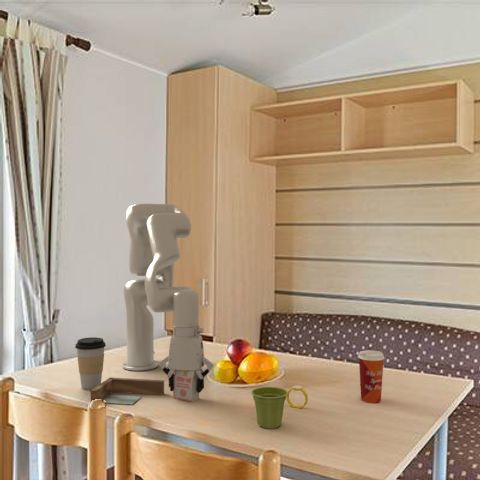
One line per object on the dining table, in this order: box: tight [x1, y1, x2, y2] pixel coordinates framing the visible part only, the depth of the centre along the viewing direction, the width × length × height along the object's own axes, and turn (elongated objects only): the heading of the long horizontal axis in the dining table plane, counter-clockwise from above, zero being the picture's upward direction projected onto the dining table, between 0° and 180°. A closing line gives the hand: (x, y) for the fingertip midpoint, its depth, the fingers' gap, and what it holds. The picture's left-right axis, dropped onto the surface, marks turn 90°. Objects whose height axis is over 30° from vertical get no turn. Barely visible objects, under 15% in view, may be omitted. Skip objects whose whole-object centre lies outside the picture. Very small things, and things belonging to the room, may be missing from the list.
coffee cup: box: [74, 336, 106, 391], centre depth 179 cm, size 9×9×15 cm
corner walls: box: [90, 377, 165, 406], centre depth 167 cm, size 14×18×4 cm
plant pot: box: [251, 386, 288, 430], centre depth 146 cm, size 9×9×9 cm
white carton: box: [172, 370, 200, 403], centre depth 167 cm, size 4×7×10 cm, turn 59°
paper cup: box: [357, 349, 385, 404], centre depth 165 cm, size 8×8×14 cm
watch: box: [285, 384, 309, 410], centre depth 159 cm, size 6×3×6 cm, turn 66°
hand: (186, 390), depth 167 cm, fingers closed on white carton, 7 cm apart
